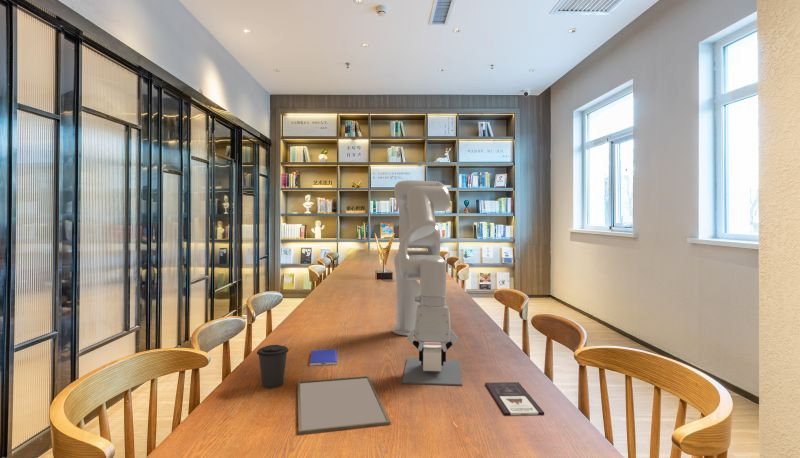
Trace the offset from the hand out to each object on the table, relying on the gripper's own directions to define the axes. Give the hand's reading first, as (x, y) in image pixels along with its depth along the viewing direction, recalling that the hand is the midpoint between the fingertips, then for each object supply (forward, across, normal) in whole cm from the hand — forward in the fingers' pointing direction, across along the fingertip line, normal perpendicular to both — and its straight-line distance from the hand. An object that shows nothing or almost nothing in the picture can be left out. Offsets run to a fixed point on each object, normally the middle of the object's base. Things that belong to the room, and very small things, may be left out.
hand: (432, 363), depth 125 cm
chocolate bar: (+3, +20, -17) cm, 26 cm away
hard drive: (+3, -34, +8) cm, 35 cm away
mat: (+2, 0, 0) cm, 2 cm away
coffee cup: (+3, -42, -14) cm, 44 cm away
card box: (+1, 0, 0) cm, 1 cm away
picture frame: (+3, -22, -23) cm, 32 cm away
